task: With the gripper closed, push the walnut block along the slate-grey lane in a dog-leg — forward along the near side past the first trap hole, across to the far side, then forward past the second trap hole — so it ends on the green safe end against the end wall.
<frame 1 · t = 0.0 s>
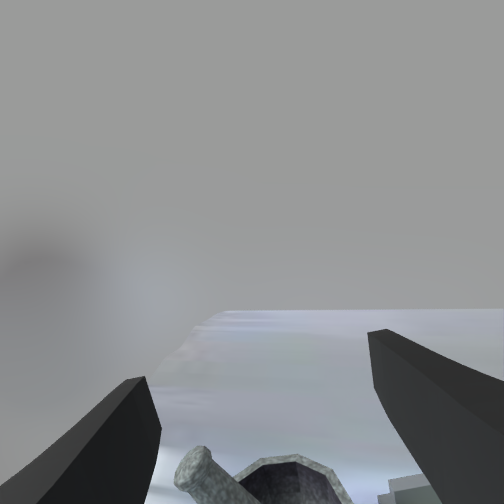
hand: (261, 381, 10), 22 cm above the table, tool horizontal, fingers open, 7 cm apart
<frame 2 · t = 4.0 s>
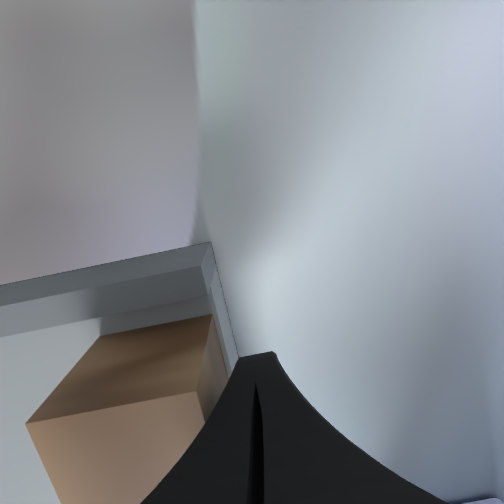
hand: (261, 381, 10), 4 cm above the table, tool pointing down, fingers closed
block: (170, 374, 12), point 3 cm above the table, touching gripper
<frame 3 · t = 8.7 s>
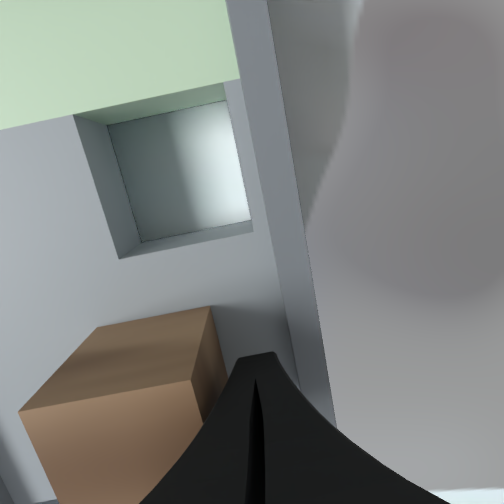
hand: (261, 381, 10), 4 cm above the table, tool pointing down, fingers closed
trap lane: (138, 314, 14), on the table
block: (168, 366, 12), point 3 cm above the table, touching gripper, trap lane
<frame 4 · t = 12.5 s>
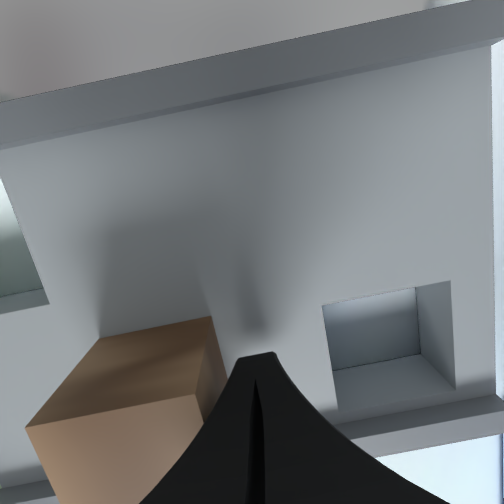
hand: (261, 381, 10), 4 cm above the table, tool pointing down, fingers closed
trap lane: (162, 287, 14), on the table
block: (170, 376, 12), point 3 cm above the table, touching gripper
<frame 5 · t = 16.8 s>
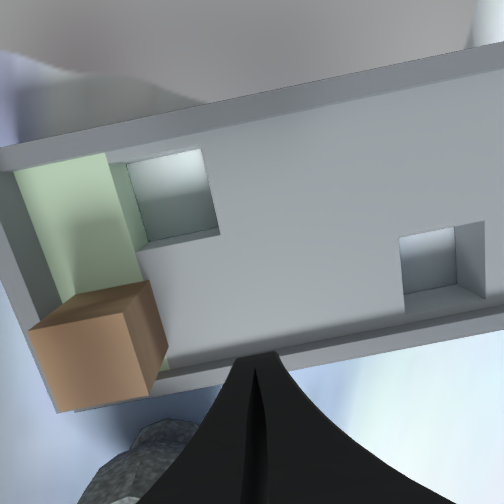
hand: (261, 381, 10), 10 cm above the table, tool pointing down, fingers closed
mortar and pestle: (176, 460, 23), on the table
trap lane: (276, 232, 19), on the table
block: (123, 321, 18), point 2 cm above the table, touching trap lane
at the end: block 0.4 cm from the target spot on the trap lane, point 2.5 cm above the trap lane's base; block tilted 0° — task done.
